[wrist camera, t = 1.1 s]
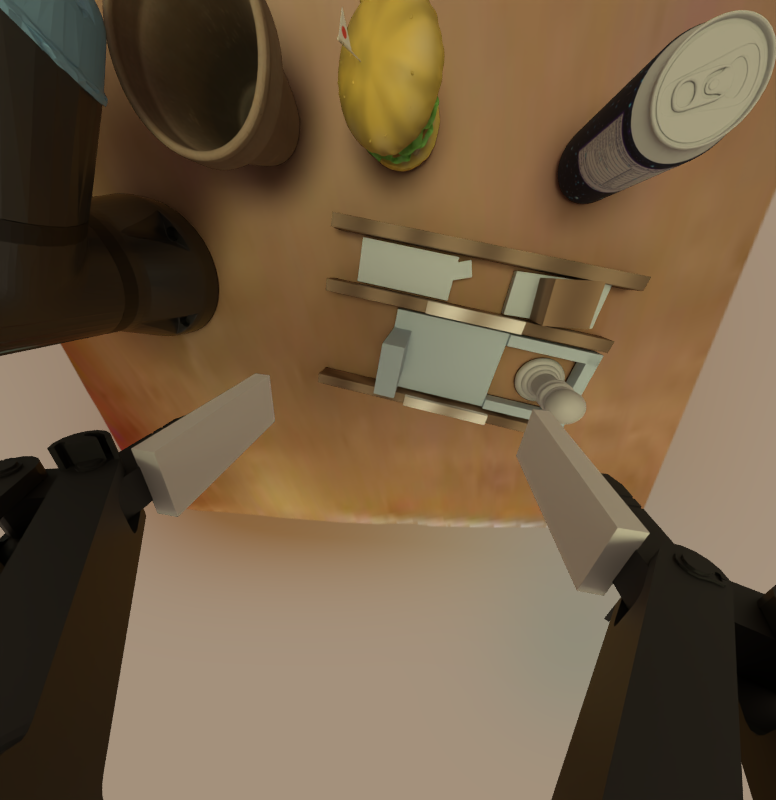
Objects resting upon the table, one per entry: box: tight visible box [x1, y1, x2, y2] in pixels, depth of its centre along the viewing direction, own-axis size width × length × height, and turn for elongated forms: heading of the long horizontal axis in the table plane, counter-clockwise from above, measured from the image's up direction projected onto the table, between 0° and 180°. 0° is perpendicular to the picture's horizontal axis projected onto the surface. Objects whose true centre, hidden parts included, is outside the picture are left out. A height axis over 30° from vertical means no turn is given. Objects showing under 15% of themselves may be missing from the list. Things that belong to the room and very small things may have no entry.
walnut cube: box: [529, 278, 606, 329], centre depth 26 cm, size 4×4×4 cm
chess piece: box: [515, 358, 586, 424], centre depth 29 cm, size 5×5×9 cm
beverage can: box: [558, 10, 776, 204], centre depth 19 cm, size 6×6×12 cm
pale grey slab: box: [374, 308, 603, 427], centre depth 29 cm, size 22×9×9 cm, turn 79°
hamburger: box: [337, 0, 444, 171], centre depth 20 cm, size 8×7×12 cm
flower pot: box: [103, 0, 300, 170], centre depth 22 cm, size 12×11×10 cm
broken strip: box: [358, 237, 612, 329], centre depth 29 cm, size 25×5×1 cm, turn 79°
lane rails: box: [318, 212, 651, 433], centre depth 31 cm, size 30×18×3 cm, turn 79°
